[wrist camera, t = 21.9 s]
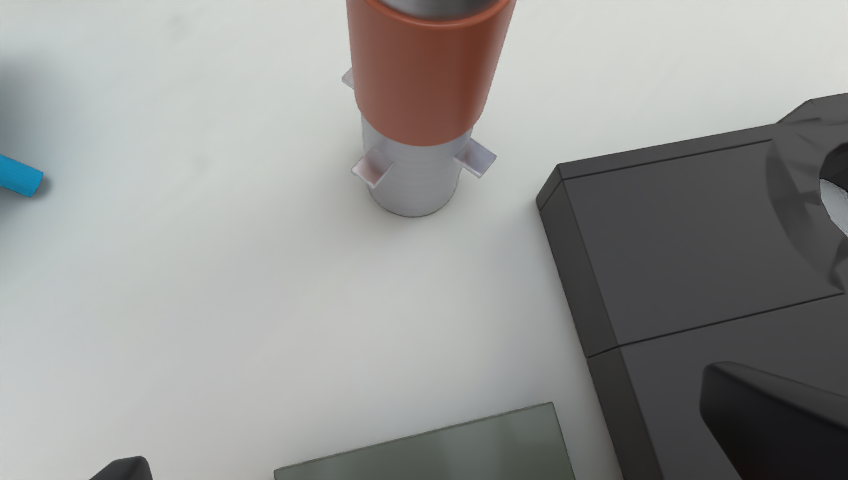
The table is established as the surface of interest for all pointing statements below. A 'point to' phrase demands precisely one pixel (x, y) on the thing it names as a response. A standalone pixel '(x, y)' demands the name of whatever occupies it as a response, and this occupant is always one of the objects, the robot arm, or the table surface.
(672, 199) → the grinder base
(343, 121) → the table surface
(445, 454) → the button block
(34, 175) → the blue toy gun
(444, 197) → the silver-capped orange cylinder
